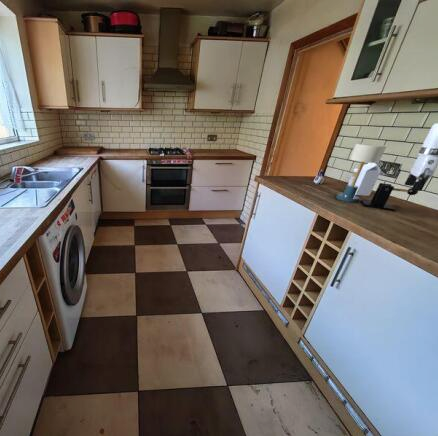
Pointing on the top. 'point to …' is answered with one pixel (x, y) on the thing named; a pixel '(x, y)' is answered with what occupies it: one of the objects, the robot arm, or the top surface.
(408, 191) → the lamp switch
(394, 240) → the top surface
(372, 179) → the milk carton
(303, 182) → the top surface
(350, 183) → the sprinkles bottle
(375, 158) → the table lamp
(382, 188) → the switch bracket
